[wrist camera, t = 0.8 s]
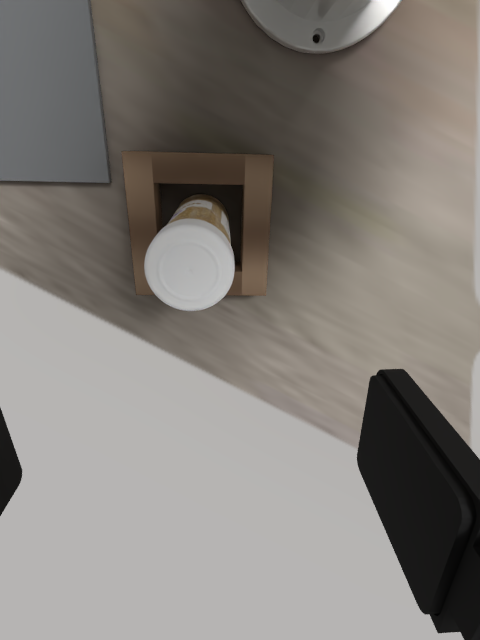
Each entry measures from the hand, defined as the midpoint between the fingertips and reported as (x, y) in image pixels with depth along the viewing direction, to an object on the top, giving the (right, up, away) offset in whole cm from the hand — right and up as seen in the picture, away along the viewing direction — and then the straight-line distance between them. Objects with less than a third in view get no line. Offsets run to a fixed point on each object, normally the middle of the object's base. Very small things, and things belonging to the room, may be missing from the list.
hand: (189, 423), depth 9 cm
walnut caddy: (-2, +11, +21) cm, 24 cm away
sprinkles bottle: (-2, +11, +21) cm, 24 cm away
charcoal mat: (-15, +19, +16) cm, 29 cm away
